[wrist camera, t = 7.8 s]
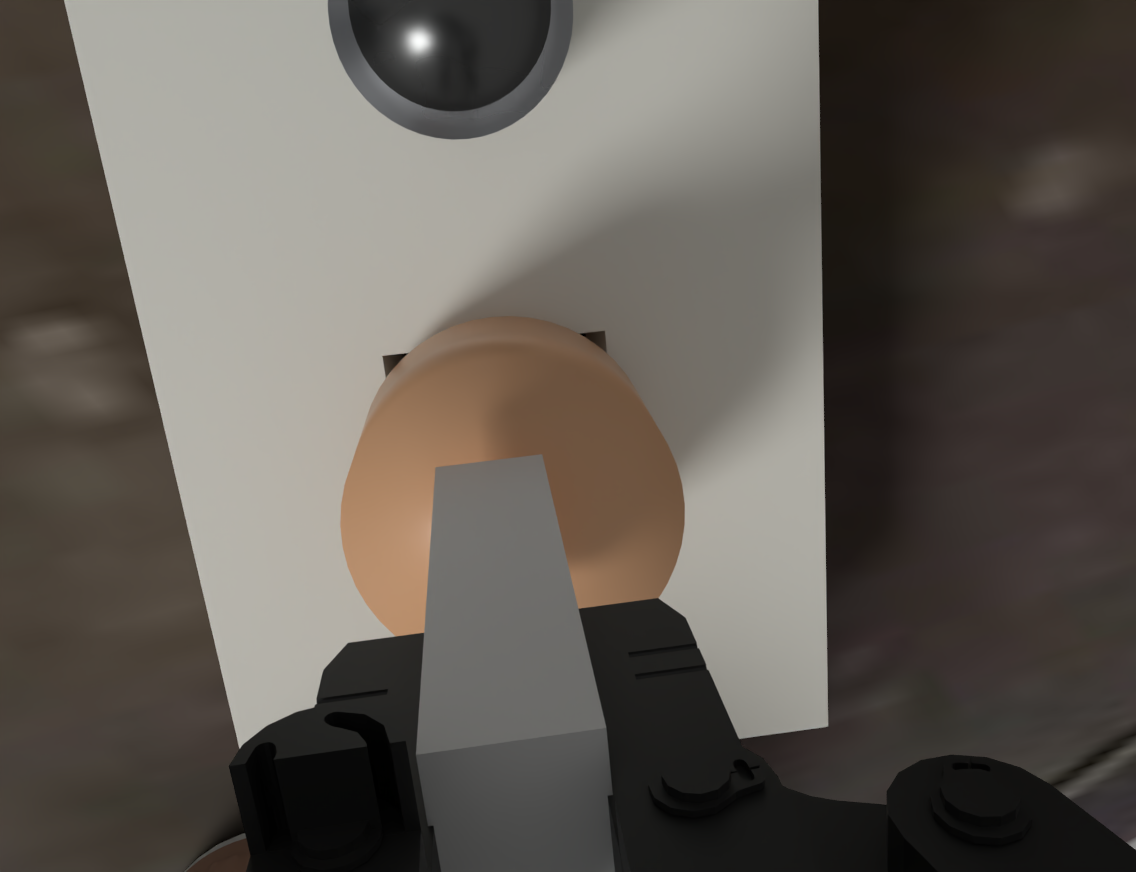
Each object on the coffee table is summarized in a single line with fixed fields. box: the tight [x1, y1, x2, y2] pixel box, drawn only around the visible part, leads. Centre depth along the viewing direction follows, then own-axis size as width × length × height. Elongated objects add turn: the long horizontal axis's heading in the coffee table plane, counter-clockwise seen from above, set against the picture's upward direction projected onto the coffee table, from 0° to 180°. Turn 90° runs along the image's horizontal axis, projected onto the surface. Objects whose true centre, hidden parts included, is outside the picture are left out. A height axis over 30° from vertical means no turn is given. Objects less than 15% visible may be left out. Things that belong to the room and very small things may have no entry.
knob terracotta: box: [340, 316, 685, 636], centre depth 19 cm, size 5×5×7 cm
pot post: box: [328, 0, 573, 140], centre depth 13 cm, size 3×3×7 cm
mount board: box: [64, 0, 828, 748], centre depth 18 cm, size 12×28×4 cm, turn 5°
